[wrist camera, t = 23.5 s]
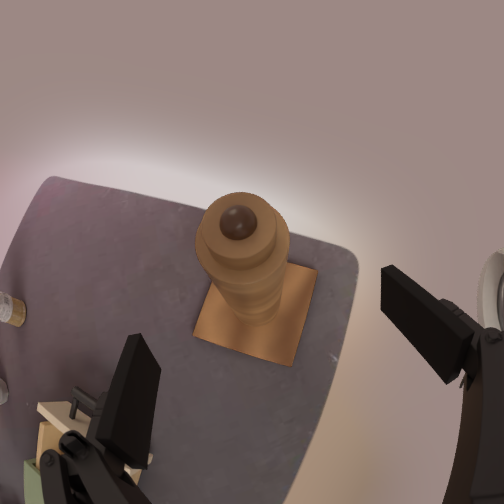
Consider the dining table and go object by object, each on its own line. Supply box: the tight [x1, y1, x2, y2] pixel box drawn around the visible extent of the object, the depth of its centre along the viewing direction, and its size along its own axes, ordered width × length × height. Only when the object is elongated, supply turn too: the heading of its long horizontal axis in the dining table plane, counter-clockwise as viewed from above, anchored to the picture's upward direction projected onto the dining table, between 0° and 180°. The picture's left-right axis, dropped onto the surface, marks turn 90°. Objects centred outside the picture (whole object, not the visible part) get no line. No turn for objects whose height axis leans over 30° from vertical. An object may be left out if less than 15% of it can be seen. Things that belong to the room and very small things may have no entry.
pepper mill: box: [195, 192, 290, 327], centre depth 20 cm, size 5×5×18 cm
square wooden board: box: [193, 262, 318, 367], centre depth 29 cm, size 11×11×1 cm
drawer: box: [36, 386, 153, 485], centre depth 19 cm, size 19×13×6 cm
